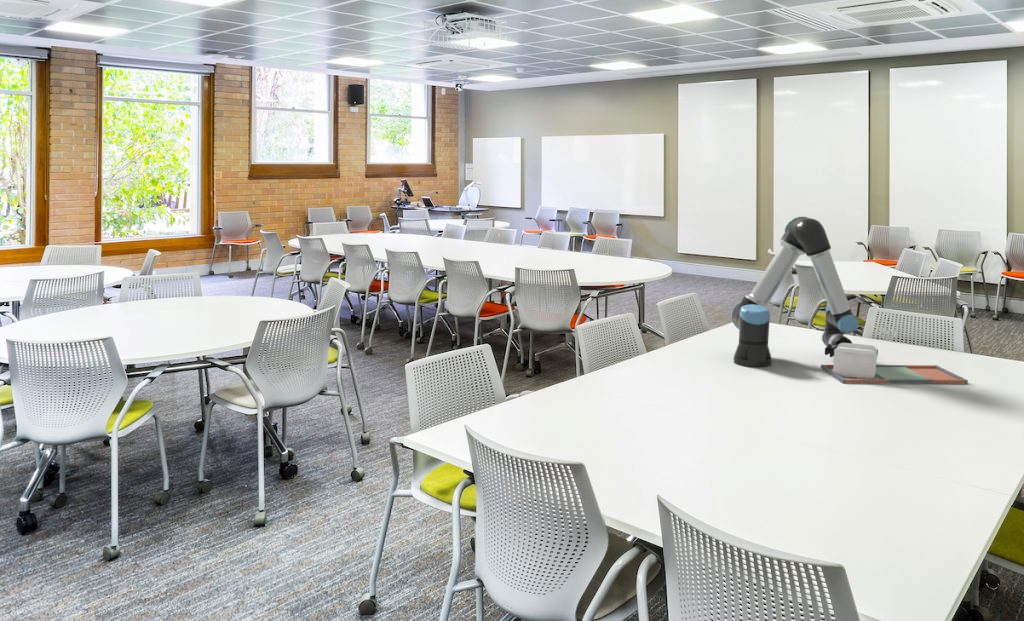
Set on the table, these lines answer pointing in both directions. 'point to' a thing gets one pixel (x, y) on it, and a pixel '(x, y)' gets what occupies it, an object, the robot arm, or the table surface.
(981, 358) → the table surface
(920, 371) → the divided tray
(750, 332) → the robot arm
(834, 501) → the table surface
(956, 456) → the table surface
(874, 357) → the cable organizer
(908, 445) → the table surface
